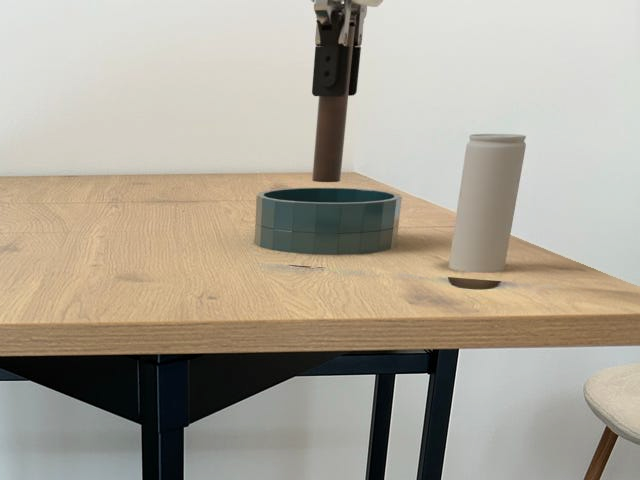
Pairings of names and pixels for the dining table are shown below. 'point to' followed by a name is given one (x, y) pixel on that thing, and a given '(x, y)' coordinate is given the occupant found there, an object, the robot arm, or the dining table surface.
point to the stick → (331, 130)
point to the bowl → (327, 220)
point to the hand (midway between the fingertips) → (334, 93)
